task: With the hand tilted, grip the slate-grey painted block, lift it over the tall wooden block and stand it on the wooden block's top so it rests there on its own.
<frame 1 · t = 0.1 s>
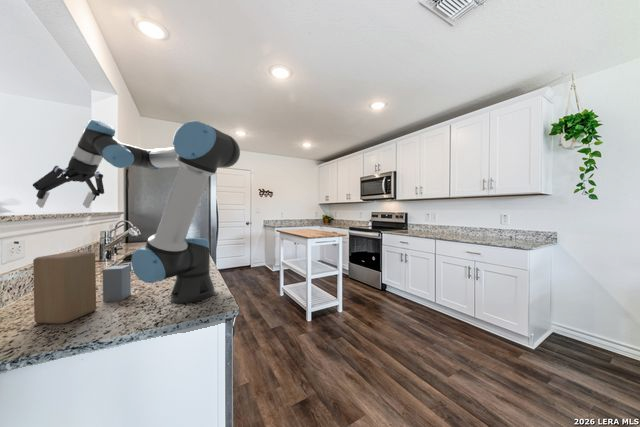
hand: (64, 205, 91), 36 cm above the countertop, tool tilted 35°, fingers open, 13 cm apart
slate block: (117, 297, 90), on the countertop
wooden block: (67, 317, 74), on the countertop
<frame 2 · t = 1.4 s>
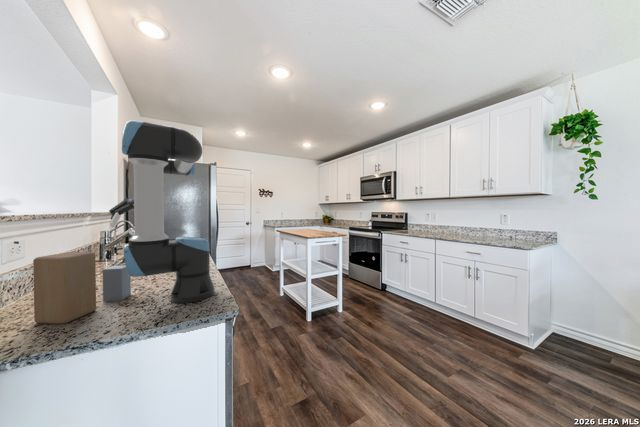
hand: (130, 225, 100), 27 cm above the countertop, tool tilted 45°, fingers open, 13 cm apart
nothing on the countertop moved.
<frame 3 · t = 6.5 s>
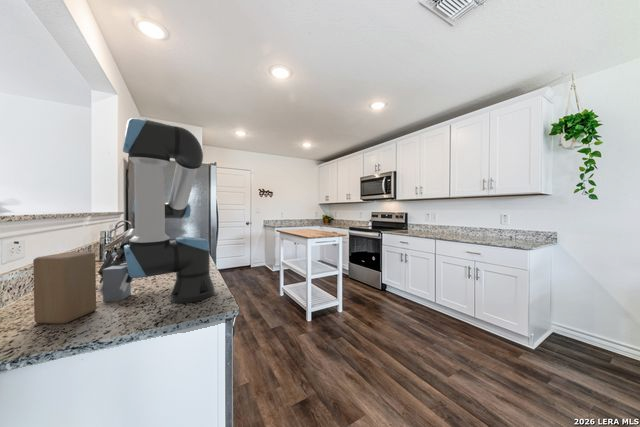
hand: (111, 291, 87), 4 cm above the countertop, tool tilted 45°, fingers closed on slate block, 6 cm apart
slate block: (117, 297, 90), on the countertop, touching gripper
everything else where it was.
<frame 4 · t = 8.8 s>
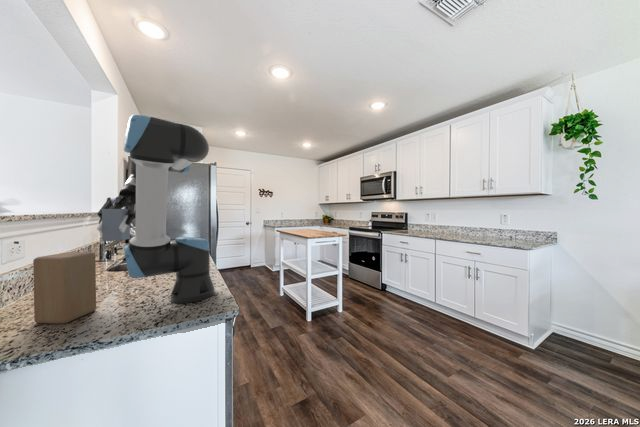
hand: (110, 230, 87), 27 cm above the countertop, tool tilted 45°, fingers closed on slate block, 6 cm apart
slate block: (116, 239, 90), point 23 cm above the countertop, touching gripper
everything else where it was.
when the fingers open (25 cm above the countertop, at t = 11.5 s): slate block drops 1 cm, resting on wooden block.
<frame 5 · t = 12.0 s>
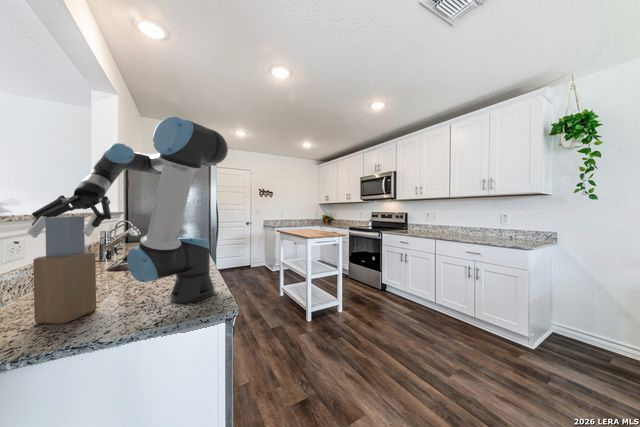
hand: (59, 234, 71), 27 cm above the countertop, tool tilted 45°, fingers open, 13 cm apart
slate block: (66, 254, 74), point 20 cm above the countertop, touching wooden block
wooden block: (67, 317, 74), on the countertop, touching slate block
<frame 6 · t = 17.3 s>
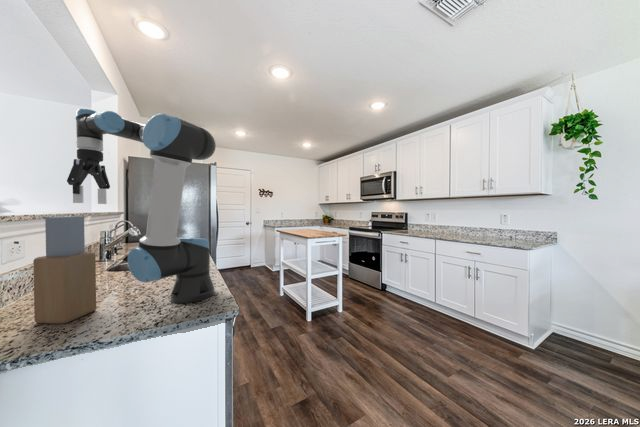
hand: (91, 203, 93), 37 cm above the countertop, tool pointing down, fingers open, 13 cm apart
nothing on the countertop moved.
at the end: slate block 0.0 cm off-centre on the wooden block, point 20.2 cm above the wooden block's base; slate block tilted 0°; the gripper is holding nothing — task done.
